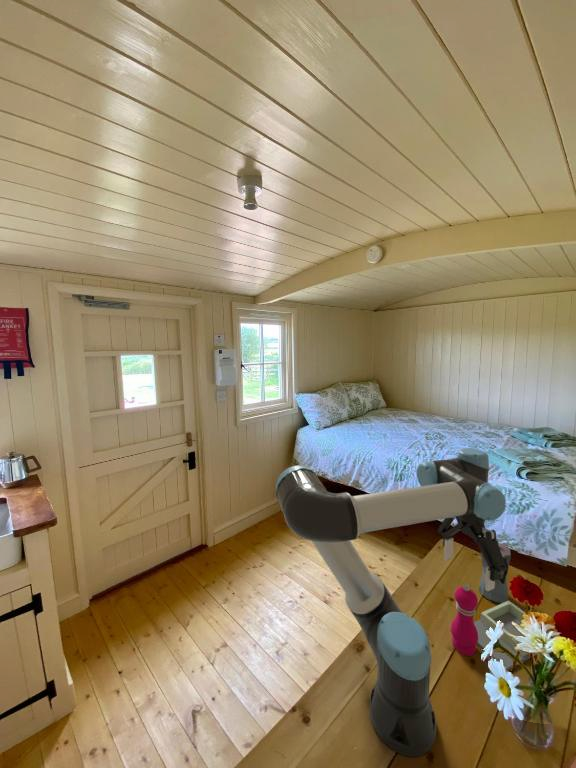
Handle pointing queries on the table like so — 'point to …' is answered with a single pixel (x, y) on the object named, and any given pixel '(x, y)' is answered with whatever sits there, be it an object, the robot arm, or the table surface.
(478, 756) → the table surface
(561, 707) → the table surface
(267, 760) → the table surface
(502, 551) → the moka pot
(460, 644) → the pepper mill
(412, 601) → the table surface
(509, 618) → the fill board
